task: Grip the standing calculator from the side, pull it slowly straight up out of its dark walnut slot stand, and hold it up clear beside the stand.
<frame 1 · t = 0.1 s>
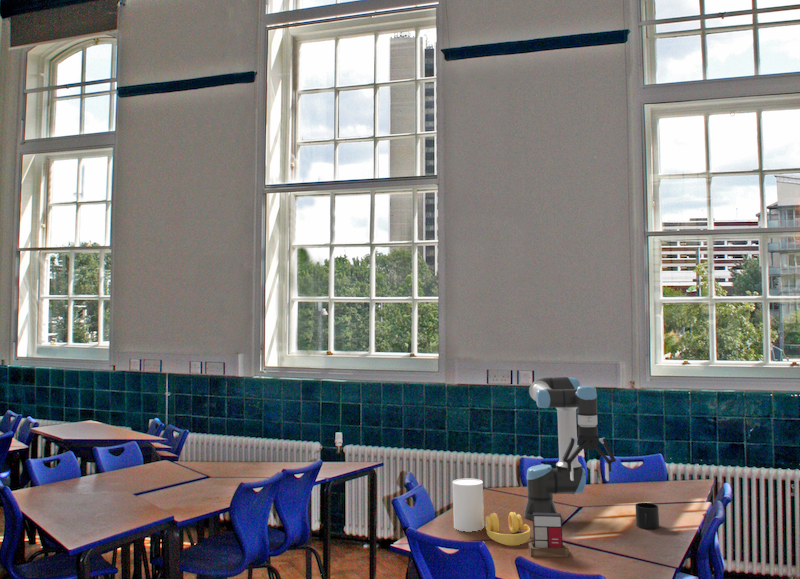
hand: (589, 480, 255), 28 cm above the table, tool pointing down, fingers open, 13 cm apart
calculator: (548, 553, 253), resting in slot stand
slot stand: (548, 553, 253), on the table
canister: (468, 527, 289), on the table
headset: (507, 538, 274), on the table
mug: (647, 527, 283), on the table
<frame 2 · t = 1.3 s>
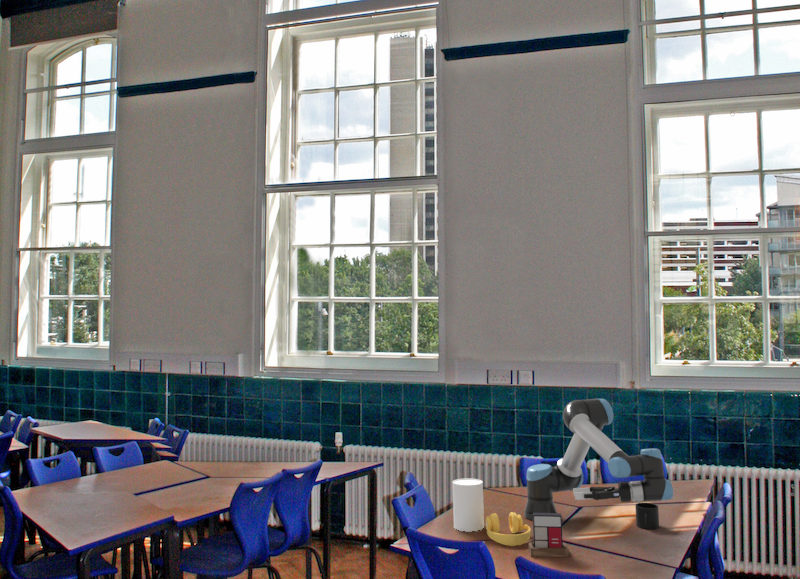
hand: (573, 494, 256), 22 cm above the table, tool horizontal, fingers open, 13 cm apart
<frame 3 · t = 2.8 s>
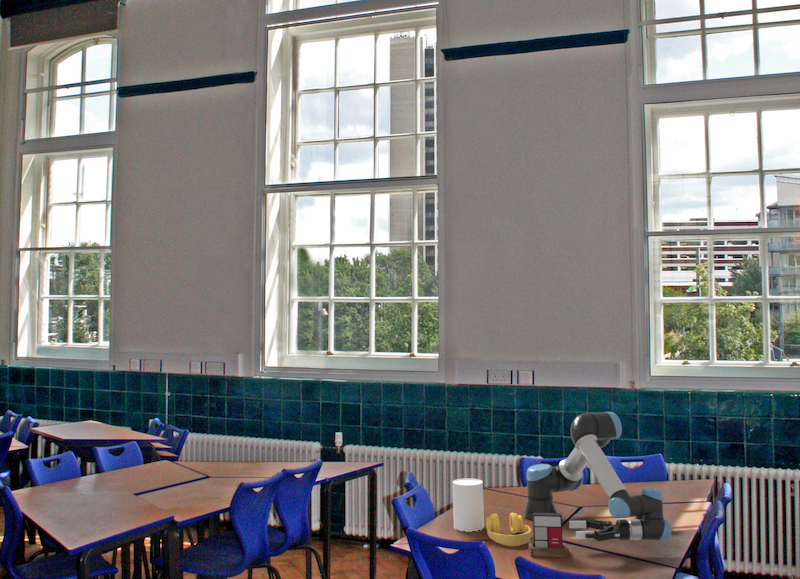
hand: (572, 529, 253), 9 cm above the table, tool horizontal, fingers open, 13 cm apart
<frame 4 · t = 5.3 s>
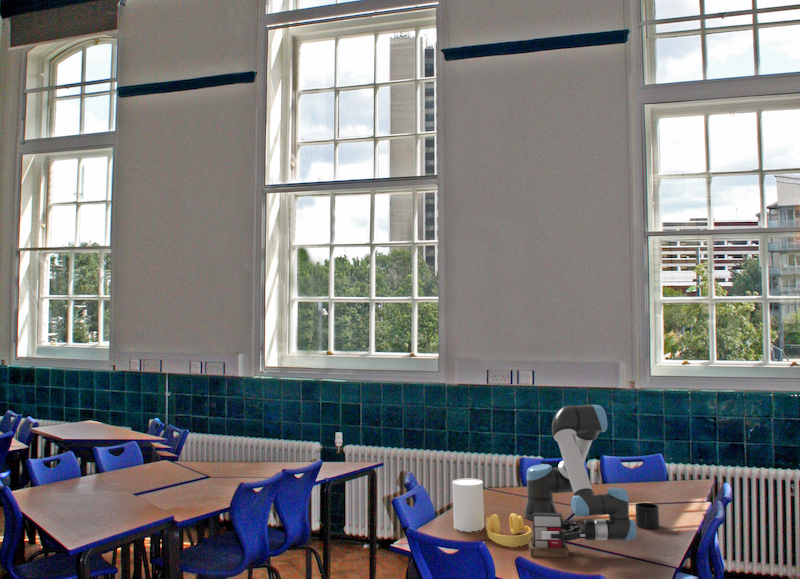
hand: (539, 529, 254), 9 cm above the table, tool horizontal, fingers open, 13 cm apart
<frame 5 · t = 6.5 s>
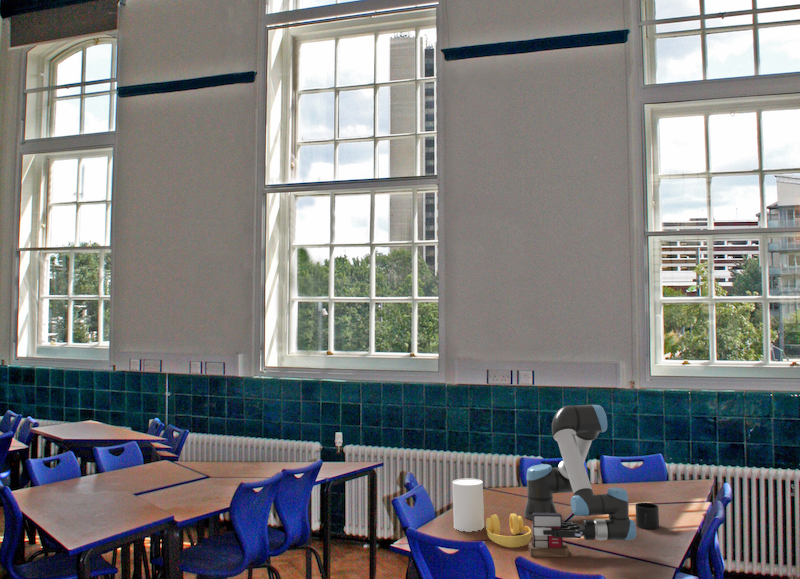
hand: (533, 529, 254), 9 cm above the table, tool horizontal, fingers closed on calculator, 4 cm apart
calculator: (548, 553, 253), resting in slot stand, touching gripper
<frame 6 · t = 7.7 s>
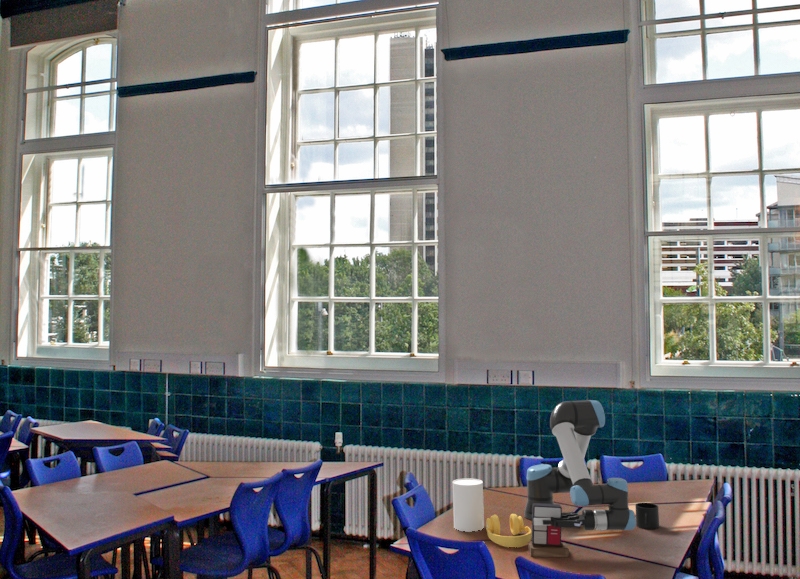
hand: (533, 519, 254), 13 cm above the table, tool horizontal, fingers closed on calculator, 4 cm apart
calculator: (546, 544, 254), point 3 cm above the table, touching gripper
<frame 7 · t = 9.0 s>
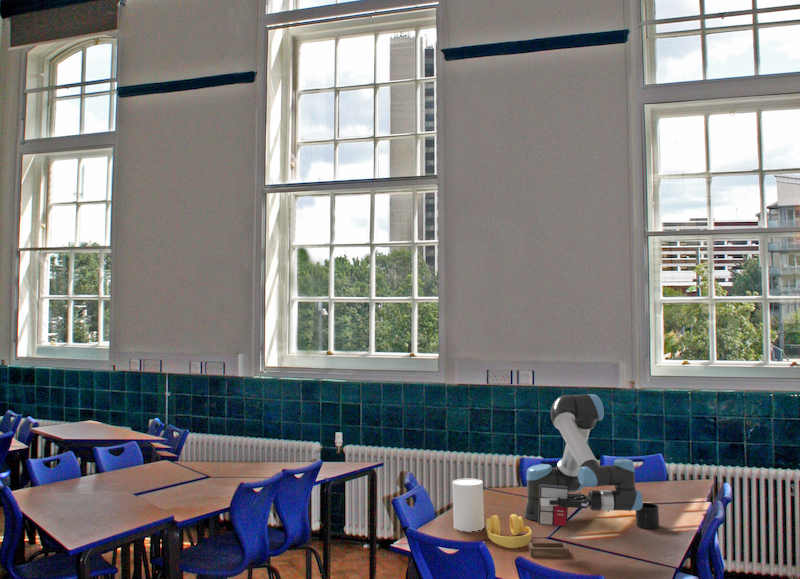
hand: (540, 500, 256), 20 cm above the table, tool horizontal, fingers closed on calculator, 4 cm apart
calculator: (552, 525, 255), point 10 cm above the table, touching gripper
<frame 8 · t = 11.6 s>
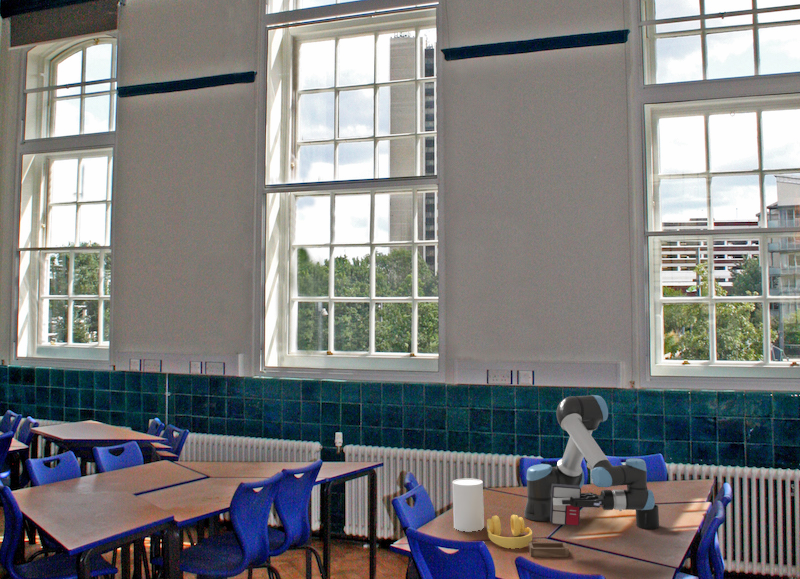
hand: (552, 500, 256), 20 cm above the table, tool horizontal, fingers closed on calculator, 4 cm apart
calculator: (564, 524, 256), point 10 cm above the table, touching gripper
at the end: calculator point 10.3 cm above the table; the gripper is holding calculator; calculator tilted 5° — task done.
